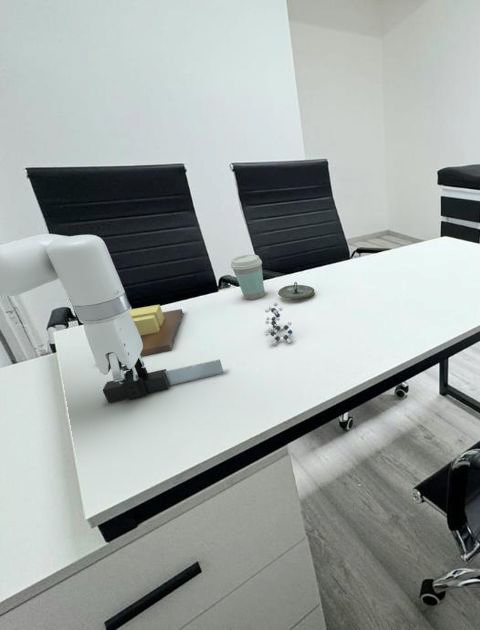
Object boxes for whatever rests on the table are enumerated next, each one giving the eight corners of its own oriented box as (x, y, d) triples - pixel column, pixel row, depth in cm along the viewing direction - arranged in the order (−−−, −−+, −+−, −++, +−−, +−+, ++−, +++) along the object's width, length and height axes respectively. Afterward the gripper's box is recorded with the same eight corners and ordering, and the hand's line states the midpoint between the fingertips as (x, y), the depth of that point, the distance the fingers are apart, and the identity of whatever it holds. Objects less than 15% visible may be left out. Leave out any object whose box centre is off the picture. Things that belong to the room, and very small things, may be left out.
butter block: (129, 331, 96) (123, 317, 95) (134, 323, 101) (128, 309, 99) (161, 325, 99) (155, 311, 97) (164, 318, 103) (159, 304, 101)
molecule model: (267, 356, 90) (275, 331, 86) (255, 322, 97) (261, 297, 93) (294, 354, 94) (302, 329, 90) (280, 321, 101) (287, 297, 97)
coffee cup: (265, 288, 123) (257, 252, 118) (272, 296, 117) (263, 258, 112) (237, 295, 119) (227, 257, 114) (242, 304, 113) (232, 265, 108)
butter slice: (125, 338, 93) (119, 323, 91) (127, 335, 95) (121, 320, 93) (158, 332, 96) (152, 317, 94) (160, 328, 97) (154, 314, 95)
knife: (108, 403, 73) (101, 389, 72) (112, 394, 75) (106, 380, 74) (223, 376, 80) (219, 363, 78) (224, 368, 82) (220, 356, 81)
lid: (278, 299, 119) (271, 286, 116) (306, 284, 122) (300, 270, 120) (291, 311, 111) (283, 298, 108) (320, 295, 115) (314, 281, 112)
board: (99, 364, 86) (97, 359, 85) (125, 324, 104) (123, 319, 103) (171, 350, 90) (169, 344, 90) (183, 313, 109) (181, 308, 108)
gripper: (92, 294, 73) (128, 374, 81) (58, 331, 60) (105, 423, 68) (138, 287, 76) (169, 366, 84) (115, 321, 62) (154, 411, 70)
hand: (140, 390), depth 76 cm, fingers closed on knife, 3 cm apart
